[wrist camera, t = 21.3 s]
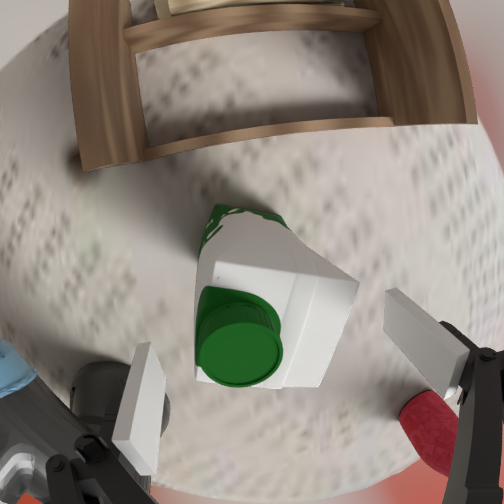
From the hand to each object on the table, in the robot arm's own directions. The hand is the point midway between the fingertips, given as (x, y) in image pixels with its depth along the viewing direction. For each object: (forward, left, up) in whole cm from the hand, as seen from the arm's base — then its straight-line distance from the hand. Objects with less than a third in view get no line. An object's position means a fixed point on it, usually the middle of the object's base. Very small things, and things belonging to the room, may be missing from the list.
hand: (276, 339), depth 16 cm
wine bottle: (+28, -40, -18) cm, 52 cm away
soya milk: (0, 0, -18) cm, 18 cm away
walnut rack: (+5, +20, -18) cm, 28 cm away
